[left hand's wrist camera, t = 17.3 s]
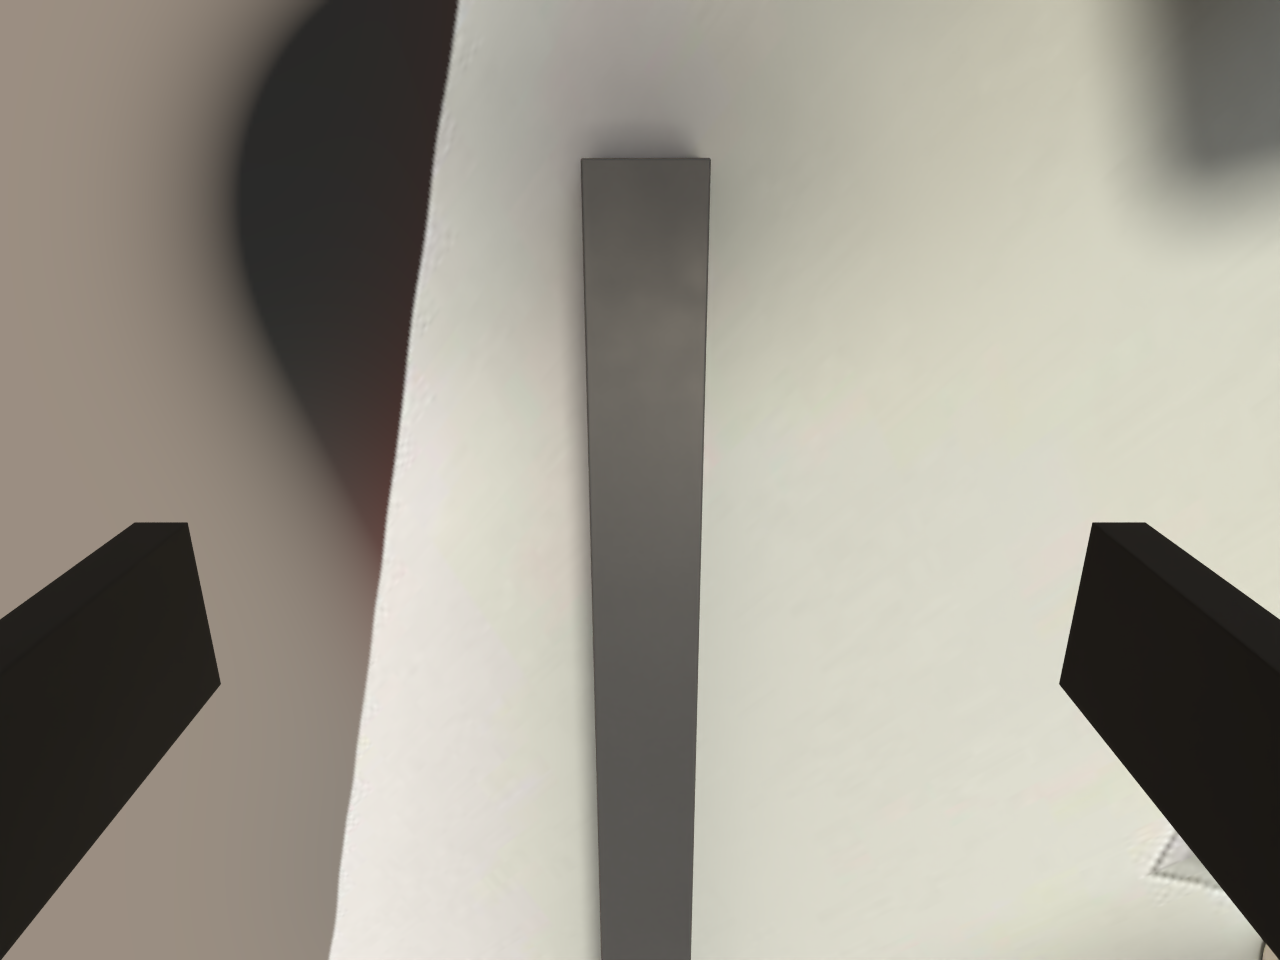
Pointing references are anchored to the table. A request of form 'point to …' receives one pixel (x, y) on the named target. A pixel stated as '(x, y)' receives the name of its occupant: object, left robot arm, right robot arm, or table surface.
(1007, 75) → the table surface
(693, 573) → the bar
